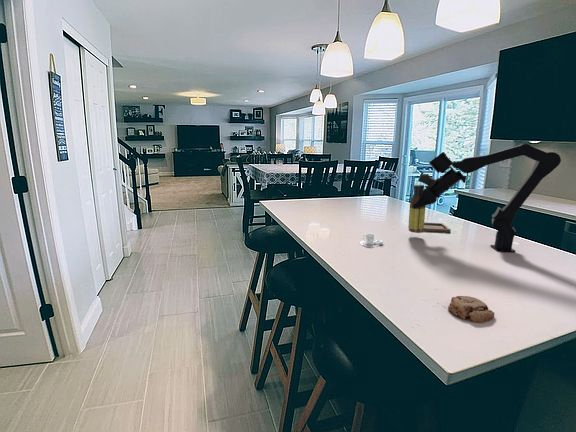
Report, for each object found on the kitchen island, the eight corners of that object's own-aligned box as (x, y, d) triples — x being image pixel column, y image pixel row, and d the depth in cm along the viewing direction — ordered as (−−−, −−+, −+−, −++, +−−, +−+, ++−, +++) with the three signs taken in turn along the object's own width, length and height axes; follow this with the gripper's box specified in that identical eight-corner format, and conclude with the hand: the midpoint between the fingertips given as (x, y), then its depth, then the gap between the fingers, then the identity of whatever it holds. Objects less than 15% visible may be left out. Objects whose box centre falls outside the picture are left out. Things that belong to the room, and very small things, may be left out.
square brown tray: (450, 232, 153) (450, 229, 153) (422, 231, 155) (422, 228, 154) (442, 226, 165) (443, 223, 164) (416, 224, 166) (417, 221, 166)
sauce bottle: (421, 230, 147) (426, 184, 143) (425, 233, 141) (430, 186, 137) (405, 229, 148) (410, 183, 144) (408, 232, 142) (413, 185, 138)
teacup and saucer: (384, 244, 135) (385, 234, 135) (378, 249, 129) (378, 239, 128) (363, 240, 140) (364, 231, 139) (356, 245, 134) (356, 235, 133)
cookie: (479, 303, 87) (481, 292, 87) (501, 325, 77) (503, 313, 76) (439, 301, 88) (441, 290, 87) (456, 323, 78) (458, 311, 77)
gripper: (434, 165, 145) (404, 189, 152) (430, 168, 129) (397, 194, 136) (452, 185, 143) (421, 208, 151) (450, 190, 127) (416, 216, 134)
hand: (414, 206), depth 143 cm, fingers closed on sauce bottle, 6 cm apart
